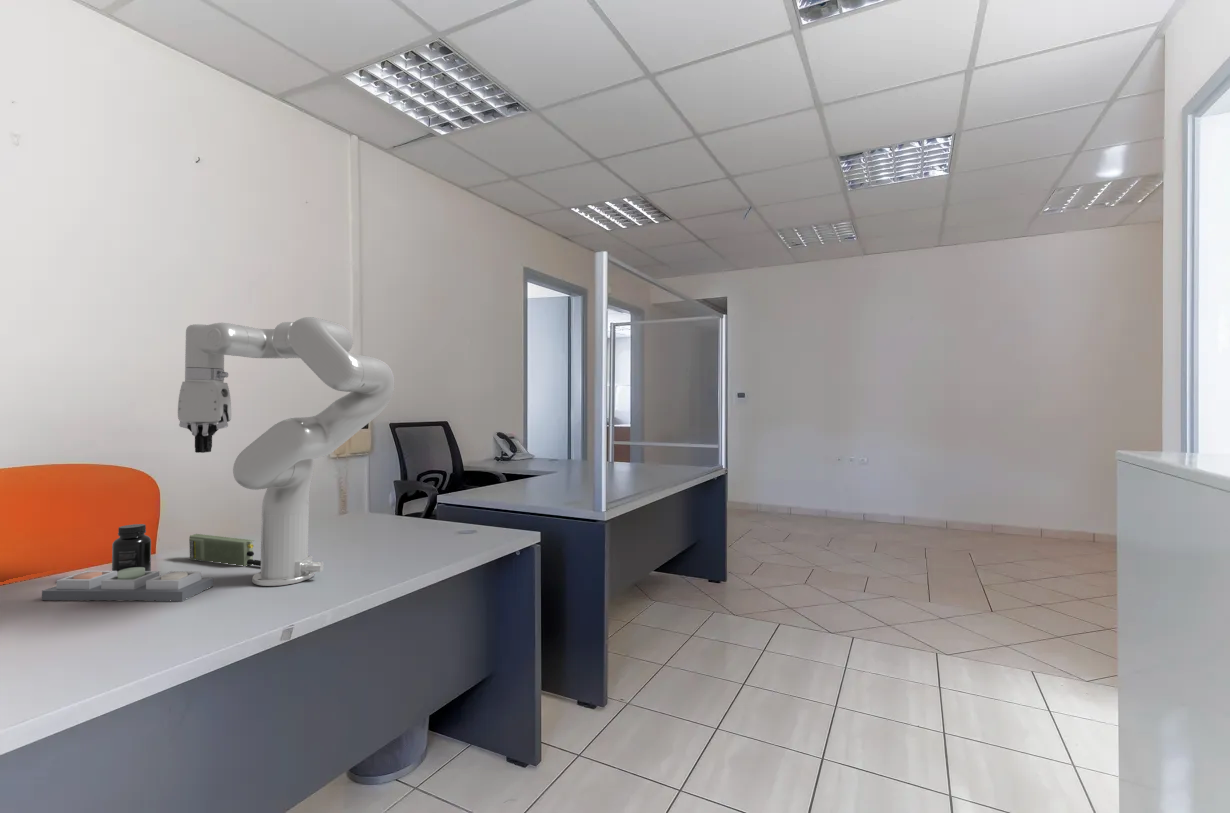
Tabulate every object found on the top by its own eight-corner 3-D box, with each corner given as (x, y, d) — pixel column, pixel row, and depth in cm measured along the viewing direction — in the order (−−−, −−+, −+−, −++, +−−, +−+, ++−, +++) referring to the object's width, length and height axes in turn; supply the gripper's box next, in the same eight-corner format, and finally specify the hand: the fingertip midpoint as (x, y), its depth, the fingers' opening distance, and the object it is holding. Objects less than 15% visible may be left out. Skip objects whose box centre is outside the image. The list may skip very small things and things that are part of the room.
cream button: (192, 580, 119) (192, 572, 119) (177, 587, 115) (177, 578, 115) (171, 580, 119) (172, 571, 119) (155, 586, 115) (155, 578, 115)
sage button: (150, 575, 119) (150, 567, 119) (133, 581, 114) (133, 573, 114) (129, 575, 119) (129, 567, 119) (111, 581, 114) (111, 573, 114)
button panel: (212, 586, 121) (213, 569, 121) (182, 601, 112) (182, 583, 112) (83, 586, 120) (83, 568, 120) (41, 600, 111) (42, 582, 111)
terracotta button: (107, 579, 118) (107, 571, 118) (88, 586, 114) (88, 577, 114) (86, 579, 118) (86, 571, 118) (67, 586, 114) (67, 577, 114)
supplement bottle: (158, 573, 130) (159, 523, 130) (130, 582, 123) (131, 529, 123) (132, 572, 131) (133, 522, 131) (103, 581, 124) (104, 528, 124)
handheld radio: (200, 557, 145) (272, 567, 138) (187, 561, 142) (260, 571, 135) (199, 532, 145) (272, 540, 137) (186, 536, 142) (260, 544, 134)
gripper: (246, 377, 136) (244, 451, 136) (184, 376, 135) (183, 450, 135) (225, 376, 128) (224, 454, 128) (160, 374, 128) (159, 453, 128)
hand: (203, 452), depth 132 cm, fingers closed
